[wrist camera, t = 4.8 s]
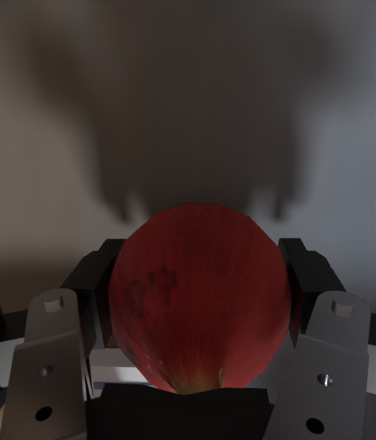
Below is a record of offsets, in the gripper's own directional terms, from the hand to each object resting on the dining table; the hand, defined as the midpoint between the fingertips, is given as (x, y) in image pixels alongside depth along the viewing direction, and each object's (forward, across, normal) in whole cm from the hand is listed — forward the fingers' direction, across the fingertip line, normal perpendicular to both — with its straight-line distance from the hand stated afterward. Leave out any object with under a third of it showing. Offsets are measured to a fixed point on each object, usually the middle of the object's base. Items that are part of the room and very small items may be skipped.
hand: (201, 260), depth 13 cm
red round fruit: (+2, 0, 0) cm, 2 cm away
